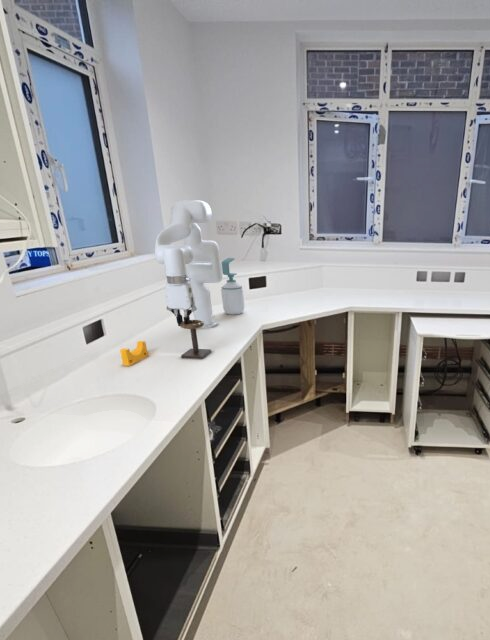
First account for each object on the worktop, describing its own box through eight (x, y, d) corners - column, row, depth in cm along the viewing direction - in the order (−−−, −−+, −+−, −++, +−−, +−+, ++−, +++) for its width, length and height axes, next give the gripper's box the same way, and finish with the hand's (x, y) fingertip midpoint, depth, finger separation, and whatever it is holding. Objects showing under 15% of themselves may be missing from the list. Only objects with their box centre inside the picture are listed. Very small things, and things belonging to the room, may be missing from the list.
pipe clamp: (139, 355, 169) (136, 340, 166) (148, 356, 168) (145, 341, 165) (119, 365, 158) (115, 349, 155) (129, 366, 157) (125, 350, 155)
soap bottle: (249, 312, 240) (244, 258, 228) (234, 316, 230) (228, 260, 218) (234, 309, 246) (229, 256, 234) (219, 313, 236) (212, 258, 224)
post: (191, 351, 174) (186, 321, 169) (211, 351, 174) (207, 322, 168) (181, 358, 166) (176, 327, 161) (202, 359, 165) (198, 327, 160)
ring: (186, 322, 170) (186, 318, 169) (207, 324, 169) (207, 319, 168) (176, 328, 161) (175, 324, 161) (198, 330, 160) (197, 325, 160)
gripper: (200, 279, 160) (206, 323, 168) (162, 277, 162) (170, 322, 170) (192, 282, 154) (198, 328, 161) (153, 281, 155) (161, 327, 163)
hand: (184, 325), depth 165 cm, fingers closed on ring, 2 cm apart
